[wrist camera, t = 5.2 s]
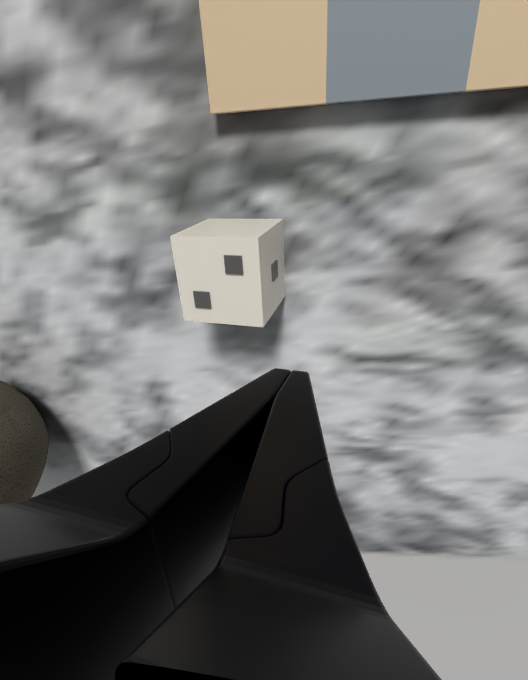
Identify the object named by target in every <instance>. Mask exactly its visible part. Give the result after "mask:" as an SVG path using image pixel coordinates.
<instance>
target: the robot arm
mask: <svg viewBox="0 0 528 680" xmlns="http://www.w3.org/2000/svg"><path fill="white" fill-rule="evenodd" d="M0 680H441V678H440V677H439V676H438V675H437V674H436V673H435V671H434V670H433V669H432V668H431V666H430V665H429V664H428V663H427V661H426V660H425V659H424V658H423V657H422V655H421V654H420V653H419V652H418V651H417V649H416V648H415V647H414V646H413V645H412V643H411V642H410V641H409V640H408V639H407V637H406V636H405V635H404V634H403V632H402V631H401V630H400V629H399V627H398V626H397V625H396V624H395V623H394V622H393V620H392V619H391V617H390V616H389V614H388V612H387V611H386V609H385V607H384V605H383V603H382V602H381V600H380V598H379V596H378V594H377V592H376V590H375V587H374V585H373V583H372V581H371V578H370V576H369V573H368V571H367V568H366V566H365V564H364V562H363V559H362V557H361V554H360V551H359V549H358V547H357V544H356V542H355V539H354V537H353V534H352V532H351V530H350V527H349V525H348V522H347V520H346V517H345V515H344V512H343V509H342V507H341V504H340V501H339V498H338V495H337V492H336V489H335V485H334V481H333V478H332V474H331V470H330V465H329V461H328V457H327V452H326V448H325V444H324V439H323V435H322V430H321V426H320V421H319V417H318V412H317V408H316V403H315V399H314V394H313V390H312V386H311V381H310V377H309V374H308V372H303V371H292V372H291V371H290V370H285V369H277V368H275V369H272V370H271V371H269V372H267V373H266V374H264V375H262V376H260V377H259V378H257V379H255V380H254V381H252V382H250V383H248V384H247V385H245V386H243V387H241V388H240V389H238V390H236V391H235V392H233V393H231V394H229V395H228V396H226V397H224V398H223V399H221V400H219V401H217V402H216V403H214V404H212V405H210V406H209V407H207V408H205V409H204V410H202V411H200V412H198V413H197V414H195V415H193V416H191V417H190V418H188V419H186V420H185V421H183V422H181V423H179V424H178V425H176V426H174V427H172V428H171V429H170V432H169V431H165V432H164V433H162V434H160V435H159V436H157V437H155V438H153V439H152V440H150V441H148V442H146V443H144V444H142V445H141V446H139V447H137V448H135V449H133V450H132V451H130V452H128V453H126V454H124V455H122V456H120V457H118V458H116V459H114V460H112V461H110V462H108V463H106V464H103V465H101V466H99V467H97V468H95V469H93V470H91V471H89V472H87V473H85V474H83V475H81V476H79V477H76V478H74V479H72V480H70V481H68V482H66V483H64V484H62V485H60V486H58V487H56V488H54V489H51V490H49V491H47V492H45V493H43V494H40V495H38V496H35V497H32V498H30V499H27V500H23V501H19V502H14V503H8V504H0Z"/></svg>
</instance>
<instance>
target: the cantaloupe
mask: <svg viewBox="0 0 528 680" xmlns="http://www.w3.org/2000/svg"><path fill="white" fill-rule="evenodd" d="M48 446H49V437H48V431H47V428H46V426H45V423H44V421H43V418H42V417H41V415H40V413H39V412H38V410H37V409H36V407H35V406H34V405H33V403H32V402H31V401H30V400H29V399H28V398H27V397H26V396H25V395H23V394H22V393H21V392H19V391H18V390H16V389H15V388H14V387H12V386H10V385H9V384H7V383H5V382H2V381H0V504H8V503H14V502H19V501H23V500H27V499H30V498H31V497H32V495H33V493H34V491H35V489H36V487H37V485H38V483H39V480H40V478H41V476H42V473H43V470H44V467H45V463H46V459H47V454H48Z"/></svg>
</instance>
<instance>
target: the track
mask: <svg viewBox="0 0 528 680" xmlns="http://www.w3.org/2000/svg"><path fill="white" fill-rule="evenodd" d="M199 6H200V16H201V25H202V35H203V45H204V54H205V64H206V73H207V83H208V93H209V102H210V112H211V114H226V113H237V112H249V111H260V110H271V109H283V108H294V107H305V106H317V105H328V104H339V103H351V102H362V101H373V100H385V99H396V98H407V97H419V96H430V95H441V94H453V93H464V92H475V91H487V90H498V89H509V88H521V87H528V0H199Z"/></svg>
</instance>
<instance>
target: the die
mask: <svg viewBox="0 0 528 680" xmlns="http://www.w3.org/2000/svg"><path fill="white" fill-rule="evenodd" d="M170 239H171V245H172V251H173V257H174V263H175V269H176V275H177V281H178V287H179V293H180V299H181V305H182V311H183V317H184V320H186V321H197V322H208V323H220V324H231V325H242V326H253V327H264V326H265V324H266V323H267V322H268V320H269V319H270V317H271V316H272V314H273V313H274V312H275V310H276V309H277V307H278V306H279V304H280V303H281V301H282V300H283V299H284V297H285V266H284V230H283V219H207V220H205V221H202V222H200V223H198V224H196V225H193V226H191V227H189V228H187V229H185V230H182V231H180V232H178V233H176V234H174V235H171V236H170Z"/></svg>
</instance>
